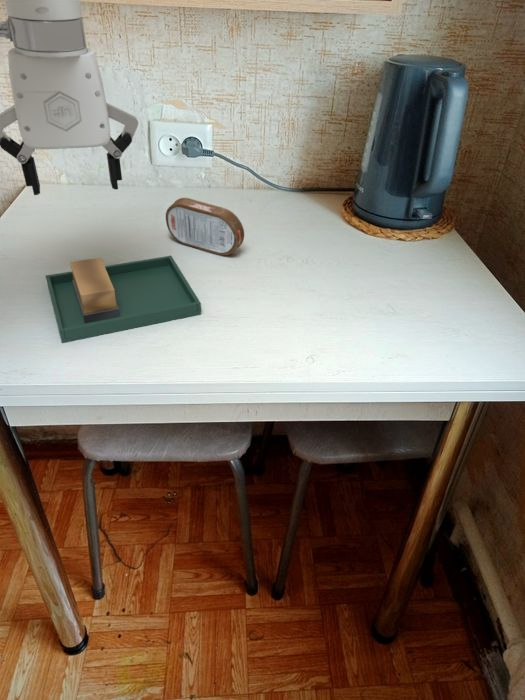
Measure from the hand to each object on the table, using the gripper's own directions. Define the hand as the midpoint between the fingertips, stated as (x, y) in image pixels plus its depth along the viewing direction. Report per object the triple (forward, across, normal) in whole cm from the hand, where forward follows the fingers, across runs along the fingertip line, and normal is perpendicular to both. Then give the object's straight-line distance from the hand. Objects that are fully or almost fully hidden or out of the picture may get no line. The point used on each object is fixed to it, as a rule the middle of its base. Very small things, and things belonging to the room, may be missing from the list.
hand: (76, 188), depth 66 cm
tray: (+18, +4, 0) cm, 19 cm away
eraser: (+18, 0, -1) cm, 18 cm away
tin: (+18, +20, +14) cm, 30 cm away
